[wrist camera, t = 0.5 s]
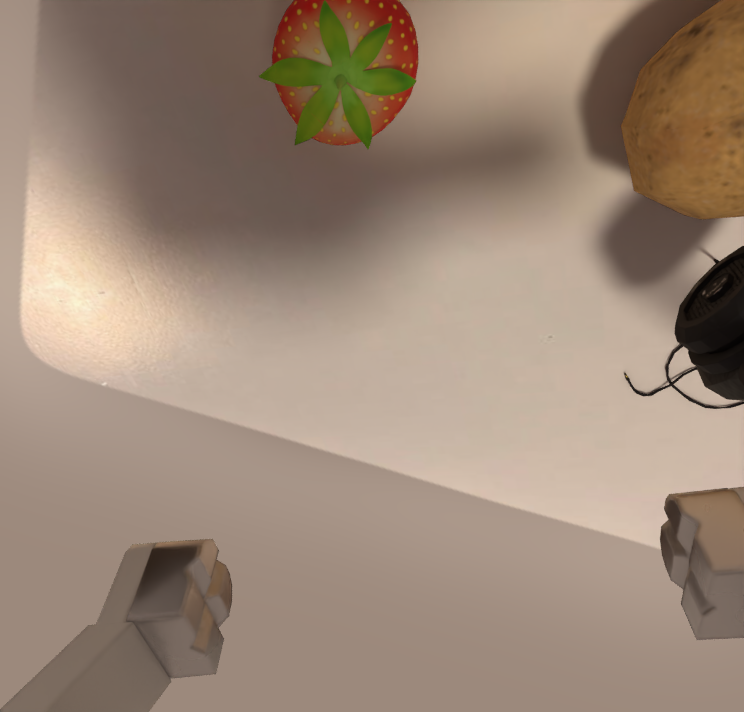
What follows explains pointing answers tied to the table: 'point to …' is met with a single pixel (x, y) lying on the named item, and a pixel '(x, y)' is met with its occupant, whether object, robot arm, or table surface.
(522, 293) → the table surface
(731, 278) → the headphones
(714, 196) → the potato
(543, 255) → the table surface
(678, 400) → the table surface
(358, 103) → the fruit
